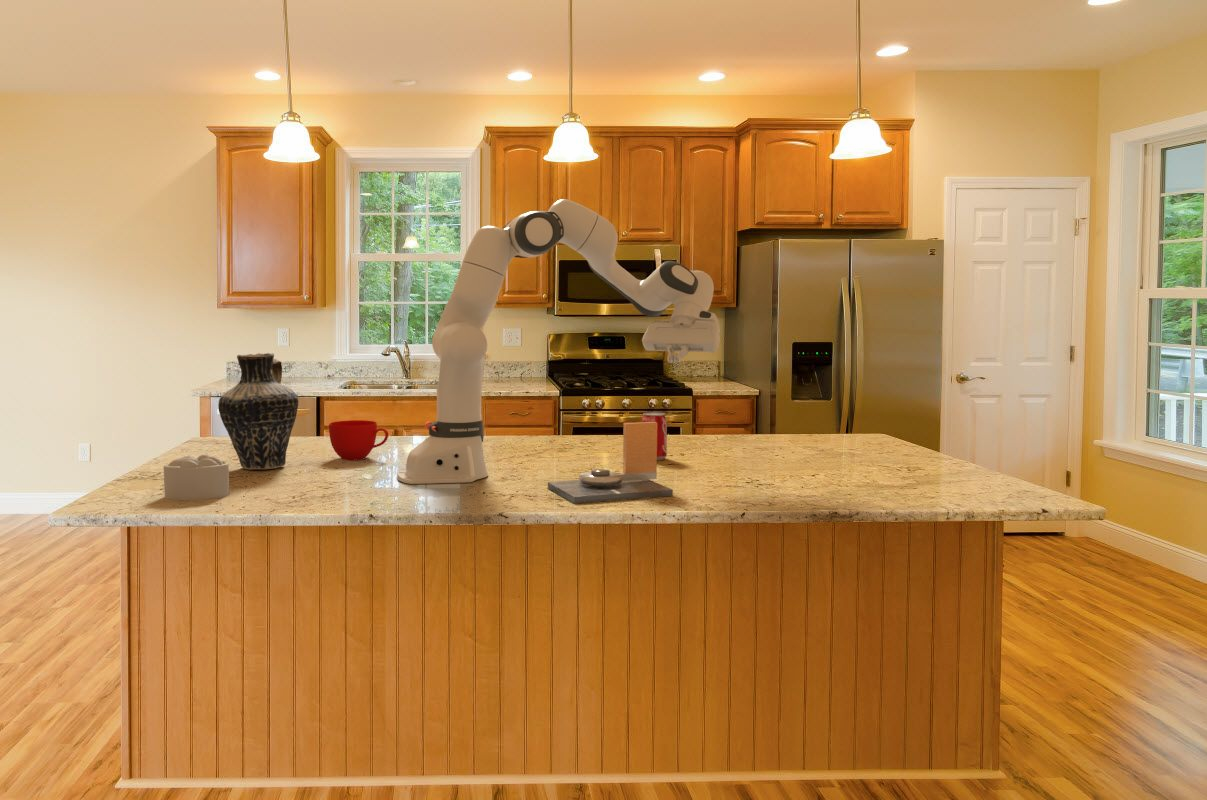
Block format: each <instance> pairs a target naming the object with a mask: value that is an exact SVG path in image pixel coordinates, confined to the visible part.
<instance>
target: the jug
mask: <svg viewBox="0 0 1207 800" xmlns="http://www.w3.org/2000/svg"><path fill="white" fill-rule="evenodd" d="M274 357H275V353H269V352H268V353H259V352H258V353H256V354H250V353H249V354H237V356H236V358H237V361H238V365H239V368H240V373H241V374H240V378H239V379H240V380H239V381H238V383H237V384H236V385H234V386H233V387H232V388H230V389H229V390H227V391H225V392H224V393H223V394H222V395H221V396H220V398H219V399H218V407H217V408H218V412H219V413H218V414H219V416H220V419H221V421H222V424H223V426H224V428H225V430H226V432H227V434H228V436H229V438H230V441H231V444H232V446H233V449H234V451H235V452H236V455H237V457H238V460H239V463H240V466H241V468H242V469H245V470H271V469H277V468H280V467H283V466H285V465H286V464H287V463H286V461H287V460H286V458H287V449H288V446H289V443H290V438H291V434H292V430H293V427H294V425H295V421H296V418H297V413H298V407H299V397H298V395H297V394H296V392H295V391H294V390H292V389H291V388H289V387H288V386H285V385H283V384H282V383H281V382H282V376H283V364H282V362H281V360H279V359H277V358H274Z"/></svg>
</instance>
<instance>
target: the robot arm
mask: <svg viewBox="0 0 1207 800" xmlns="http://www.w3.org/2000/svg"><path fill="white" fill-rule="evenodd" d="M557 243H560V244H563V245H566V246H567V247H569V248H570V249H572V250H573V251H575V252H576V253H578V254H579V255H581V256H582V257H583V258H584V259H585V260H586V261H587V264H588V266H589V268H590V270H591V271H592V272H593V273H594V274H595V275H597V276H598V277H599V278H600V279H602V280H603V281H604V282H605V283H606V284H607V285H609V286H610V287H611V288H613V289H614V290H615V291H616V292H618V293H619V294H620V295H621V296H623V297H624V298H625V299H627V300H628V301H629V302H630V303H631V304H632V305H633V307H634V308H635V309H636V310H637V311H638V312H639V313H641V314H643V315H644V316H647V317H650V318H651V317H653V318H655V317H660V316H661V315H663V313H664V312H666V310H667V309H668V308H669V306H671V305H673V306H674V309H673V311H672V313H671V316H670V320H655V321H654V322H651V323H649V324H648V326H647V328H646V331H645V332H644V334H643V336H642V338H641V342H642V346H643V347H644V349H645V351H648V352H649V351H653V352H654V351H655V352H657V351H658V352H667V353H668V354H667V357H666V359H667V362H668V363H676V364H677V363H679V364H680V363H681V361H682V359H683V358H685V357H686V356H687V355H688V354H689V353H691V352H692V353H715V352H717V351H718V350H719V347H720V341H721V337H720V333H721V327H720V326H721V325H720V323H719V320H718V319H719V318H718V317H717V315H716V313H714V312H711V311H709V310H710V307H711V304H712V301H713V297H714V290H715V288H714V287H715V286H714V285H715V284H714V282H713V278H712V277H711V276H710V275H709V274H708V273H706V272H705V271H702V270H698V269H696V270H692V269H689V268H688V267H686V266H684V264H681V263H679V262H677V261H673V260H667V261H666V260H665V261H664V262H663V263H661V264H660V265H659V266H658V267H656V269H655V270H653V271H652V272H651V274H650V275H649V276H648V277H646V278H645V279H638V278H636V277H635V276H634V275H632V274H631V273H630V272H629V271H627V270H626V269H625V268H623V267H622V266H621V265H620V264H619V263H618V261H617V260H616V257H615V255H616V250H617V247H618V243H619V241H618V233H617V230H616V228H615V225H613V223H612V222H610V221H609V220H608V219H607V218H606V217H604V216H602V215H601V214H600V213H599V214H598V212H595V211H594V210H592V209H590V208H588V207H586V206H584V205H582V204H580V203H578V202H575V201H573V200H570V199H566V198H562V199H559V200H557V201H555V202H554V203H552V205H551V206H550V207H549V209H548V211H547V210H543V211H542V210H533V211H528V212H523V213H521V214H519V215H518V216H516V217H514V218H513V219H511V220H510V221H508V223H506V224H505V225H504V226H503V227H502V228H500V227H498V226H495V225H494V226H493V225H486V226H482V227H480V228H478V230H477V231H476V232H475V234H474V236H473V238H471V241H470V243H469V245H468V246H467V250H466V252H465V254H464V256H463V259H462V263H461V265H460V268H459V271H458V274H457V278H456V280H455V283H454V286H453V288H452V291H451V294H450V297H449V298H448V301H447V302H446V305H445V307H444V310H443V311H442V314H441V316H440V318H439V321H438V323H437V324H436V328H435V330H434V333H433V335H432V338H431V339H432V340H431V343H432V345H431V346H432V349H433V352H434V354H435V355H436V357H437V358H438V359H440V363H439V372H438V373H439V374H438V381H437V387H436V420H435V421H433V422H431V421H425V423H424V425H423V426H424V428H425V429H426V430H427V431H428V435H429V436H428V437H426V439H424V440H423V441H422V442H420V443H419V444H417V446H415V447H414V448H413V449H411V450H410V451H409V452H408V456H407V458H406V465H405V470H401V471H398V472H397V473H396V478H397V480H398V481H400V482H402V483H405V484H411V485H417V484H419V485H421V484H455V483H456V484H457V483H472V482H473V483H474V482H475V481H476V480H481V479H484V478H486V477H488V476H489V473H488V470H487V464H486V462H485V455H484V448H483V446H484V445H483V442H484V437H485V434H484V433H485V431H484V430H485V428H484V427H485V426H484V420H483V419H482V389H483V388H482V386H483V378H484V373H485V372H484V371H485V365H486V354H487V351H488V340H487V337H486V335H485V334H484V332H483V329H484V327H485V325H486V323H487V321H488V319H489V317H490V314H492V311H494V308H495V307H496V304H497V301H498V298H499V295H500V292H501V288H502V287H503V283H504V281H505V277H506V274H507V270H508V266H509V265H510V263H511V262H512V260H513V259H514V258H519V259H527V258H536V257H539V256H542V255H544V254H545V253H547V252H549V251H550V250H552V248H554V246H555V245H557ZM674 352H677V353H674Z"/></svg>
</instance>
